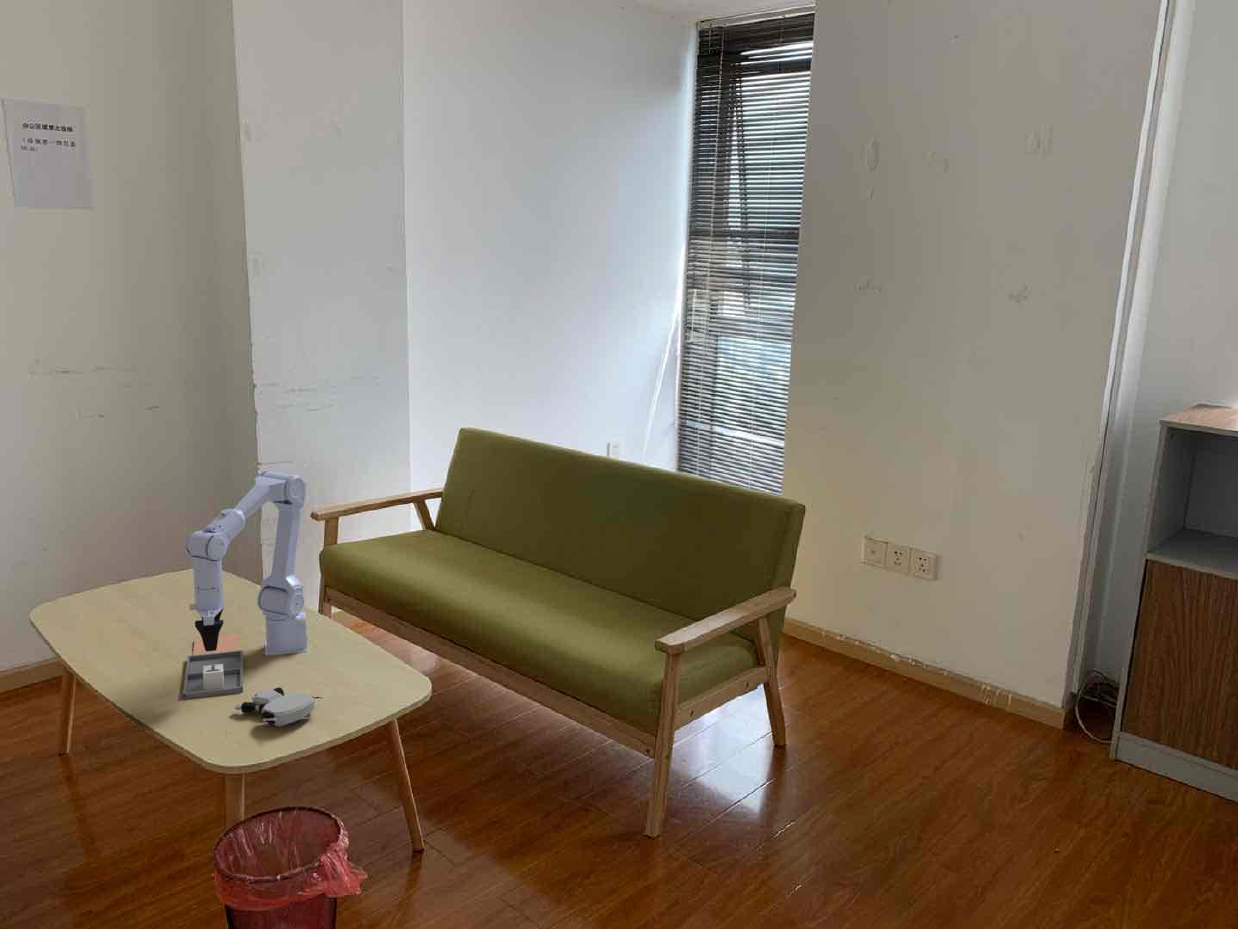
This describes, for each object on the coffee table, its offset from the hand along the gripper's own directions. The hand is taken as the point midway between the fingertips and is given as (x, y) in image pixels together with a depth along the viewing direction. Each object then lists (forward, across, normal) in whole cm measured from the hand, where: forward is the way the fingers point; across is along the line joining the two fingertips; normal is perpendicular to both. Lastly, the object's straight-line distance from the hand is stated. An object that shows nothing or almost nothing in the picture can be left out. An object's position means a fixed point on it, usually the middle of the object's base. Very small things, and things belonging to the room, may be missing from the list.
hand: (211, 643), depth 208 cm
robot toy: (+11, +17, +13) cm, 24 cm away
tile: (+10, -22, 0) cm, 24 cm away
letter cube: (+10, 0, 0) cm, 10 cm away
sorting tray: (+10, -5, 0) cm, 12 cm away
